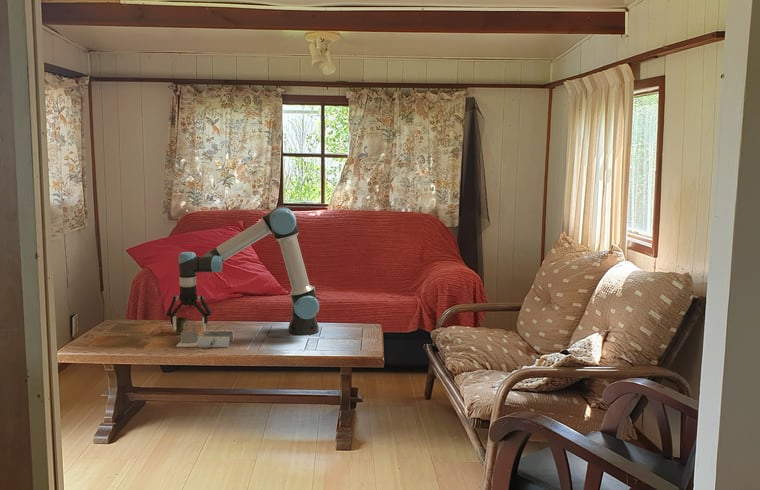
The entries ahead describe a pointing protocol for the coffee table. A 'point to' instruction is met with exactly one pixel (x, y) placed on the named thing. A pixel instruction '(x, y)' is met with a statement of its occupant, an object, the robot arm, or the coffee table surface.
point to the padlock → (189, 334)
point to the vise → (216, 338)
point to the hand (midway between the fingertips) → (189, 330)
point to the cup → (180, 324)
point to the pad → (187, 344)
